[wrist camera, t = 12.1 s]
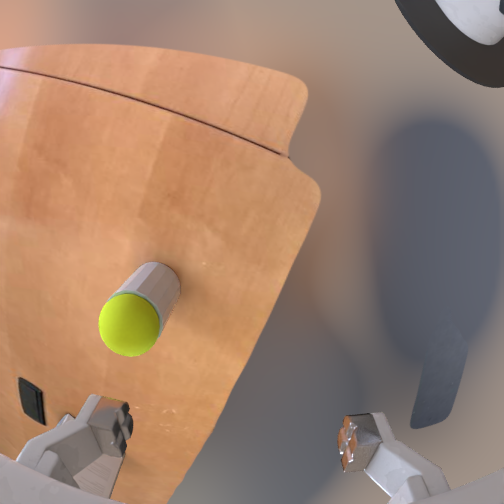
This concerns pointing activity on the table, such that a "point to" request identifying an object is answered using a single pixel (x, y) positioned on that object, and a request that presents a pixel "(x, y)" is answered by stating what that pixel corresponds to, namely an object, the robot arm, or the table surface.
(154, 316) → the tennis ball
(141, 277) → the cup
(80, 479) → the hard drive box
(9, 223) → the table surface
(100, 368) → the table surface
